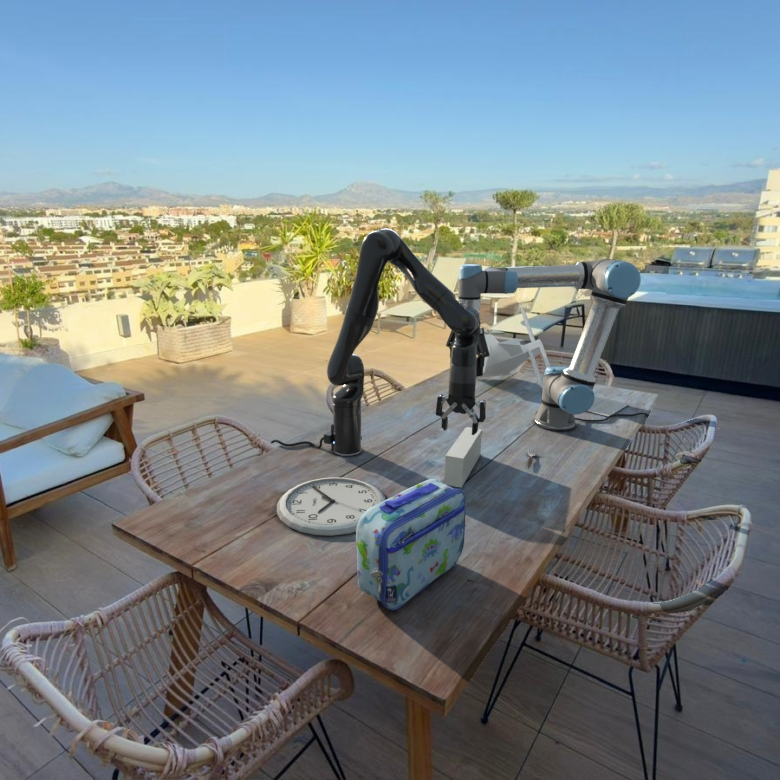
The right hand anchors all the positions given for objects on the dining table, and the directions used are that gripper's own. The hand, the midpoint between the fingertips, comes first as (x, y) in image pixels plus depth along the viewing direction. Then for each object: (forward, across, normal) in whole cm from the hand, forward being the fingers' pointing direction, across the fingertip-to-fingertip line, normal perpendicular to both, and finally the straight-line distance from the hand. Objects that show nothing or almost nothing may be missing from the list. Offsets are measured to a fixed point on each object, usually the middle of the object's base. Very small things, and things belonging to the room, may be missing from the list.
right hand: (465, 371), depth 184 cm
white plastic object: (+25, -40, +62) cm, 78 cm away
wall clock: (+24, +20, -63) cm, 70 cm away
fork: (+25, +27, +6) cm, 38 cm away
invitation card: (+26, +4, +74) cm, 79 cm away
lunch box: (+24, +58, -62) cm, 89 cm away
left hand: (+9, +26, -24) cm, 36 cm away
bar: (+25, +21, -17) cm, 37 cm away
